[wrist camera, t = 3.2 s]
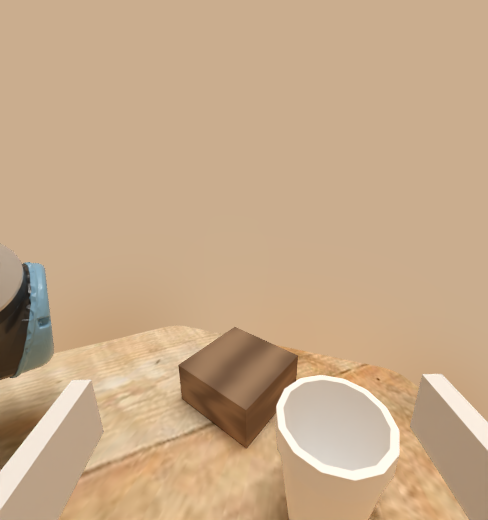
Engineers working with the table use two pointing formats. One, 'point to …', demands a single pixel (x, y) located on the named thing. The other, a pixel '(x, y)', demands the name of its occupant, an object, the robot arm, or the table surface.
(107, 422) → the table surface
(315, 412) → the foam cup
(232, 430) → the walnut block
